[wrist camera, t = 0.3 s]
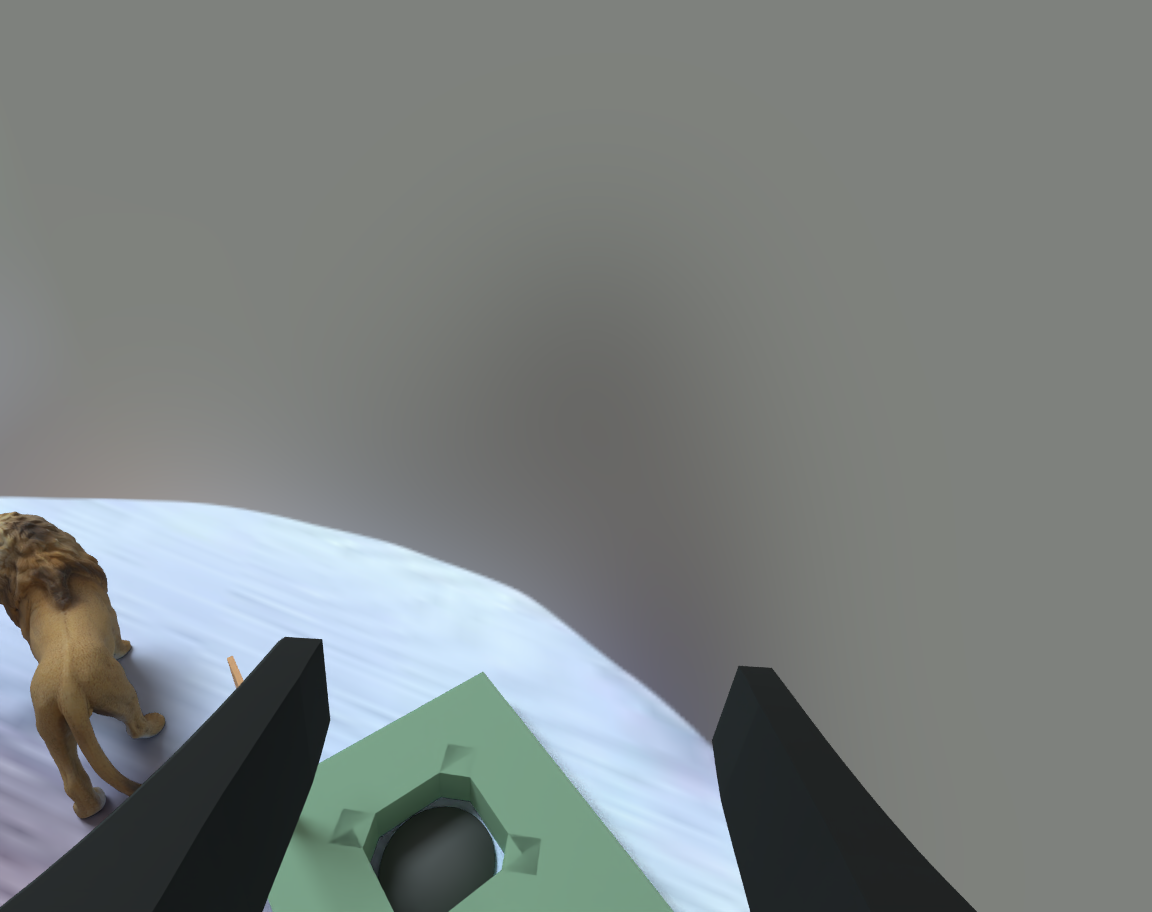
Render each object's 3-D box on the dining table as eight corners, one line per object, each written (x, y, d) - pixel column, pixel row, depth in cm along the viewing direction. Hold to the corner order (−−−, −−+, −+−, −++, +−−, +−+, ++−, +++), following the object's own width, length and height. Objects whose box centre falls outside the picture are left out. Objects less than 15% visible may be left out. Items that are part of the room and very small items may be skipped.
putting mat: (795, 1104, 22) (889, 1008, 17) (503, 1545, 15) (519, 1598, 10) (468, 676, 35) (467, 554, 30) (235, 806, 28) (185, 675, 23)
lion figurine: (-8, 657, 34) (-89, 525, 29) (107, 605, 37) (52, 480, 32) (95, 861, 26) (9, 729, 21) (227, 770, 30) (178, 640, 25)
